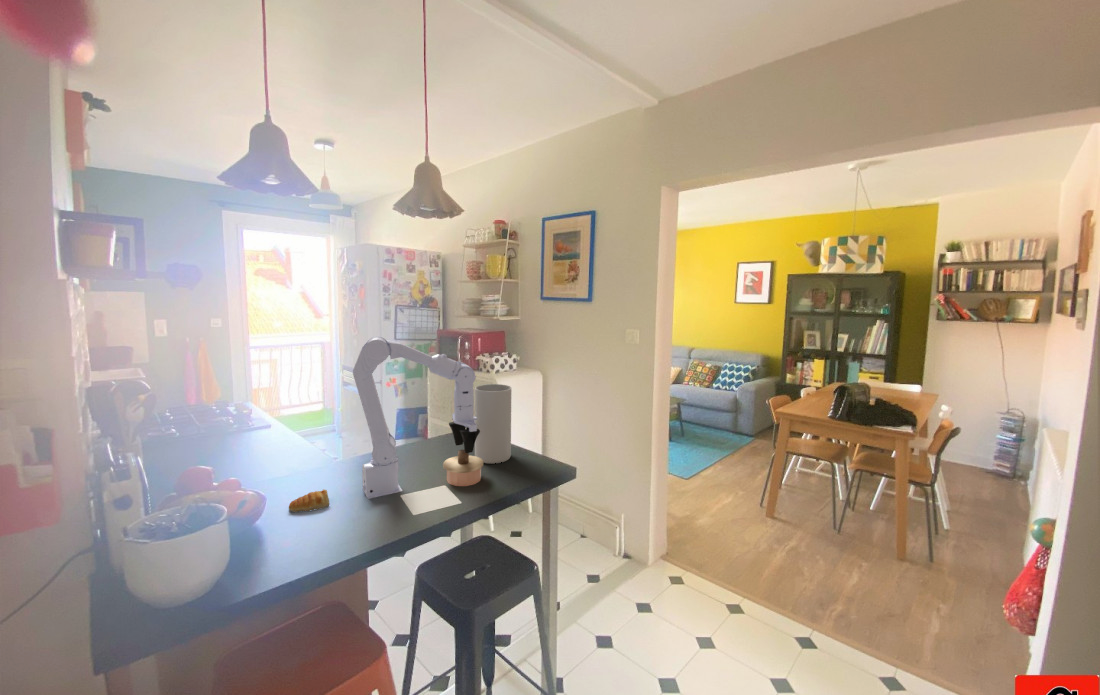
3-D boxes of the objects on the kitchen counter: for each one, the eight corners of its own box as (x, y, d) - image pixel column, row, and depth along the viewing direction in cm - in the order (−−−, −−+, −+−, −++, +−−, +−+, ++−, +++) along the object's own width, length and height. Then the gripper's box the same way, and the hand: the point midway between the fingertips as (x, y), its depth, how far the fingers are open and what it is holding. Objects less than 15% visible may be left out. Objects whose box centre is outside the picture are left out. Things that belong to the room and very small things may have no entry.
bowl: (454, 490, 126) (454, 474, 126) (442, 478, 135) (442, 462, 134) (486, 483, 132) (486, 467, 131) (472, 471, 140) (472, 456, 140)
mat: (413, 517, 111) (413, 515, 110) (400, 497, 121) (400, 495, 121) (461, 505, 118) (462, 502, 118) (445, 487, 128) (445, 485, 128)
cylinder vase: (517, 459, 152) (518, 388, 149) (486, 467, 144) (486, 393, 141) (498, 449, 162) (499, 382, 159) (468, 456, 154) (468, 386, 151)
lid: (453, 476, 124) (453, 461, 124) (436, 462, 134) (436, 449, 133) (490, 467, 131) (490, 453, 131) (472, 455, 141) (472, 442, 141)
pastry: (290, 517, 110) (289, 503, 109) (287, 507, 115) (286, 493, 115) (331, 507, 115) (330, 493, 115) (327, 498, 121) (326, 484, 120)
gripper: (486, 408, 127) (486, 453, 128) (467, 398, 139) (467, 439, 140) (463, 411, 123) (463, 457, 124) (445, 400, 135) (445, 443, 136)
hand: (463, 448), depth 132 cm, fingers open, 7 cm apart
